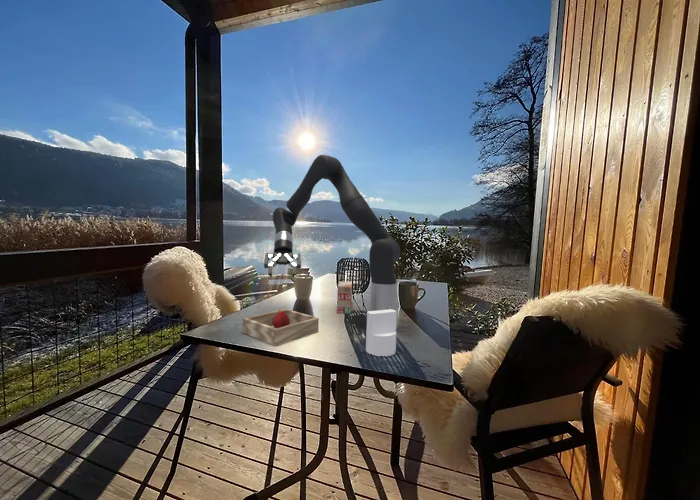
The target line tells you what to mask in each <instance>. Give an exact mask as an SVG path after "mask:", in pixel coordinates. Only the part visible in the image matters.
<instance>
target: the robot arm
mask: <svg viewBox="0 0 700 500" xmlns="http://www.w3.org/2000/svg"><path fill="white" fill-rule="evenodd" d="M321 180H328V181H330V183H331V184H332V186H333V187H334V188H335V189H336V191H337V193H338V197H339V203H340V206H341V209H342V210H343V212H344V214H345V215H346V217H347V218H348V219H349V221H350V222H351V223H352V224H353V225H354V226H355V227H356V228H357V229H359V230H360V231H361V232H363V234H365V235H366V237H367V238H368V239H369V240H370V242H371V246H370V248H369V256H368V257H369V260H368V261H369V262H368V263H369V275H370V280H371V281H370V282H371V284H370V285H371V286H370V311H377V310H388V309H393V310H395V311H396V312H397V313H396V330H397V329H398V318H399V317H398V316H399V315H398V314H399V313H398V312H399V304H398V303H397V282H398V281H397V279H398V278H397V275H396V274H395V272H394V263H395V262H397V261H398V260H399V258H400V257H401V248H400V245H399V243H398V242H397V241H396V240H395V238H393V236H391V234H390V233H389V232H388V231H387V229H386V228H385V227H384V226H383V225H382V223H381V221H379V218H378V217H377V216H376V215H377V214H375V212H374V211H373V210H372V208H371V206H370V205H369V204H368V202H367V201H366V199H365V198H364V197H363V196H362V194H361V193H360V191H359V190H358V189H357V187H356V186H355V184H354V183H353V182H352V180H351V179H350V177H349V175H348V173H347V172H346V170H345V168H344V166H343V165H342V163H341V162H340V160H339V159H338V158H337V157H334V156H330V155H327V154H320V155H317V156H316V158H315V159H314V160H313V162H312V163H311V165H310V166H309V168H308V170H307V172H306V174H305V175H304V177H303V179H302V181H301V183H300V184H299V186H298V187H297V189H296V190H295V192H294V193H293V194H292V195H291V196H290V198H289V199H288V200H287V202H286V209H285V208H284V207H280V206H279V207H277V208H275V209H274V211H273V213H272V222H273V225H274V229H275V234H274V235H275V237H274V243H273V244H274V245H273V253H272V254H269V252H265V254H264V260H263V268H264V269H267V270H268V271H267V275H268V276H269V277H270V278H272V277H273V268H275V267H276V266H277V265H278V266H282V265H284V266H287V265H288V266H289V267H290V268H291V269H292V278H295V276H297V269H302V260H301V253H297V254H293V250H294V249H293V247H294V246H293V245H294V243H293V241H294V240H293V226H294V225H295V224H296V222H297V219H298V218H299V215H300V213H301V211H302V210H303V209H304V208H305V207H306V205H307V204H308V203H309V202H310V200H311V197H312V194H313V190H314V187H315V186H316V185H317V184H319V182H320V181H321ZM271 259H272V260H271ZM270 260H271V261H270ZM294 260H295V261H296V262H295V261H294ZM269 261H270V263H269Z"/></svg>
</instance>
